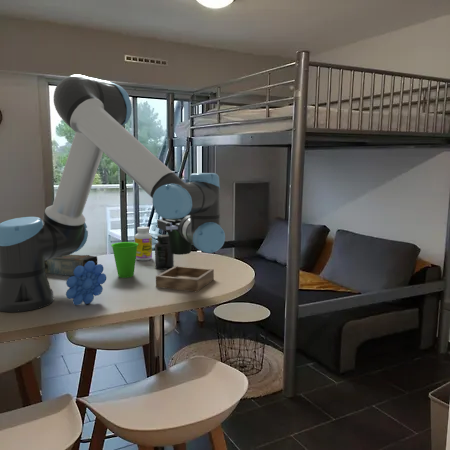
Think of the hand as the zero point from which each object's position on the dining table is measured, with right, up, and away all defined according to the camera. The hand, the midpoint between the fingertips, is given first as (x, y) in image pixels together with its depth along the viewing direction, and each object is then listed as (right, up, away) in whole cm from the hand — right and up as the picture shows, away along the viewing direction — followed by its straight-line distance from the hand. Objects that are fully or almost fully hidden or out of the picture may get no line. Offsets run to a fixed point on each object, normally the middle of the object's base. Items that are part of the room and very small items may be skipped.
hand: (176, 219), depth 139 cm
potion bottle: (+2, -11, -3) cm, 11 cm away
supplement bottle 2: (-7, -18, +20) cm, 28 cm away
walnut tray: (+3, -21, 0) cm, 21 cm away
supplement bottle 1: (-17, -16, +33) cm, 41 cm away
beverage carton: (-39, -19, +13) cm, 46 cm away
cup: (-18, -20, +9) cm, 28 cm away
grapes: (-23, -24, -19) cm, 38 cm away
